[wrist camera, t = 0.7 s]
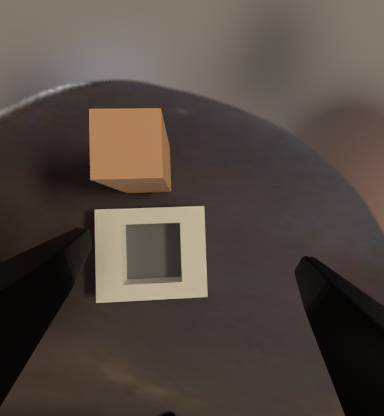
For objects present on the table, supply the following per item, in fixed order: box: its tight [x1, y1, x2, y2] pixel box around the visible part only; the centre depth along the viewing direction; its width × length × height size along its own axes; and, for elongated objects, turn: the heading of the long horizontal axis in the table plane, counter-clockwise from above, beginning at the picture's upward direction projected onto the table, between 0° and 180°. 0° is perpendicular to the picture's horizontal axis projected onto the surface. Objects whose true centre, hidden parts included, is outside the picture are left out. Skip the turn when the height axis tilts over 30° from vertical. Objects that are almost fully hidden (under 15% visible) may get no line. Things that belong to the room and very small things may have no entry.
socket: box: [95, 206, 208, 303], centre depth 21 cm, size 10×12×2 cm
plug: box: [89, 108, 171, 193], centre depth 17 cm, size 5×5×10 cm
